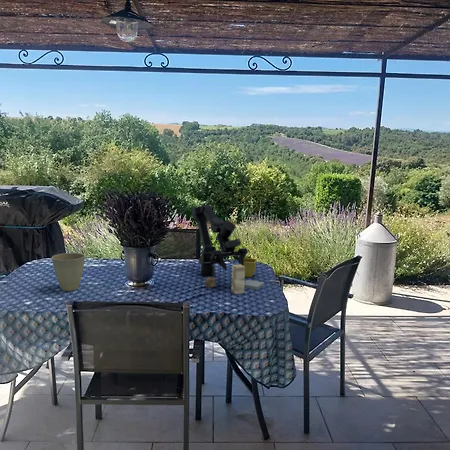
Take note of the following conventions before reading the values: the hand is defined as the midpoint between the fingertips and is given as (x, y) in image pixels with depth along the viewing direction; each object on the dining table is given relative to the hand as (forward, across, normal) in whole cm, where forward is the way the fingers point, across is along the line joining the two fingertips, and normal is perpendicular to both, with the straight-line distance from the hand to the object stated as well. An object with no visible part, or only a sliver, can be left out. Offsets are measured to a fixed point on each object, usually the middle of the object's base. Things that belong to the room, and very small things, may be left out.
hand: (234, 268), depth 219 cm
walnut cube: (0, -8, +15) cm, 17 cm away
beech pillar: (+10, 0, +5) cm, 11 cm away
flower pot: (-6, +19, +21) cm, 29 cm away
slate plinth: (+6, +12, +9) cm, 16 cm away
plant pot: (-16, -72, +31) cm, 80 cm away
